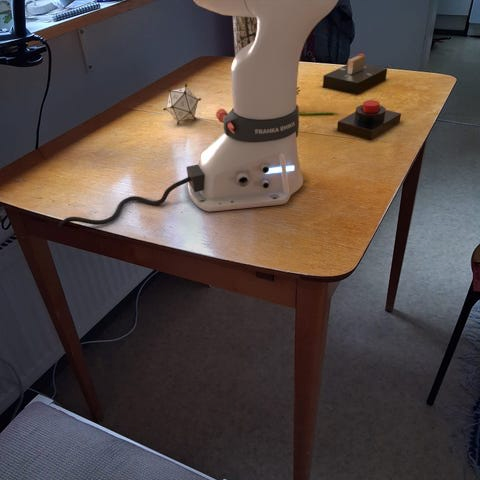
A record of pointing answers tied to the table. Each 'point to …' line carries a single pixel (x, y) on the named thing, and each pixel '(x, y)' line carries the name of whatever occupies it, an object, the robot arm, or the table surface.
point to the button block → (368, 123)
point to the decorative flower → (312, 113)
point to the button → (371, 106)
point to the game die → (182, 104)
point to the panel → (354, 79)
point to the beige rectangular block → (356, 64)
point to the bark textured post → (244, 31)
